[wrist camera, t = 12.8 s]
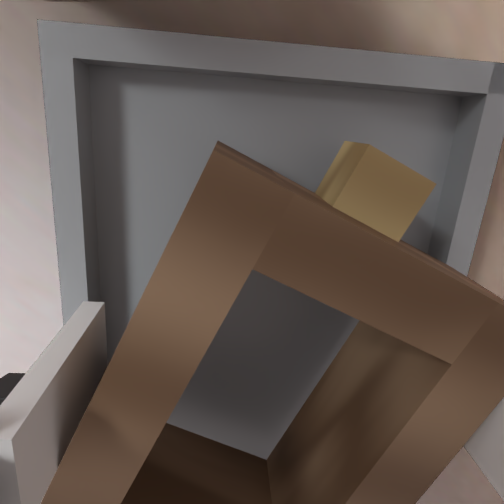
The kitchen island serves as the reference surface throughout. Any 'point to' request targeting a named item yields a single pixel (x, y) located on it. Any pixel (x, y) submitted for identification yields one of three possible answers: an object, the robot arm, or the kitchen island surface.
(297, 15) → the kitchen island surface
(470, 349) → the brown wooden frame
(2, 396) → the robot arm
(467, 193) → the tray
